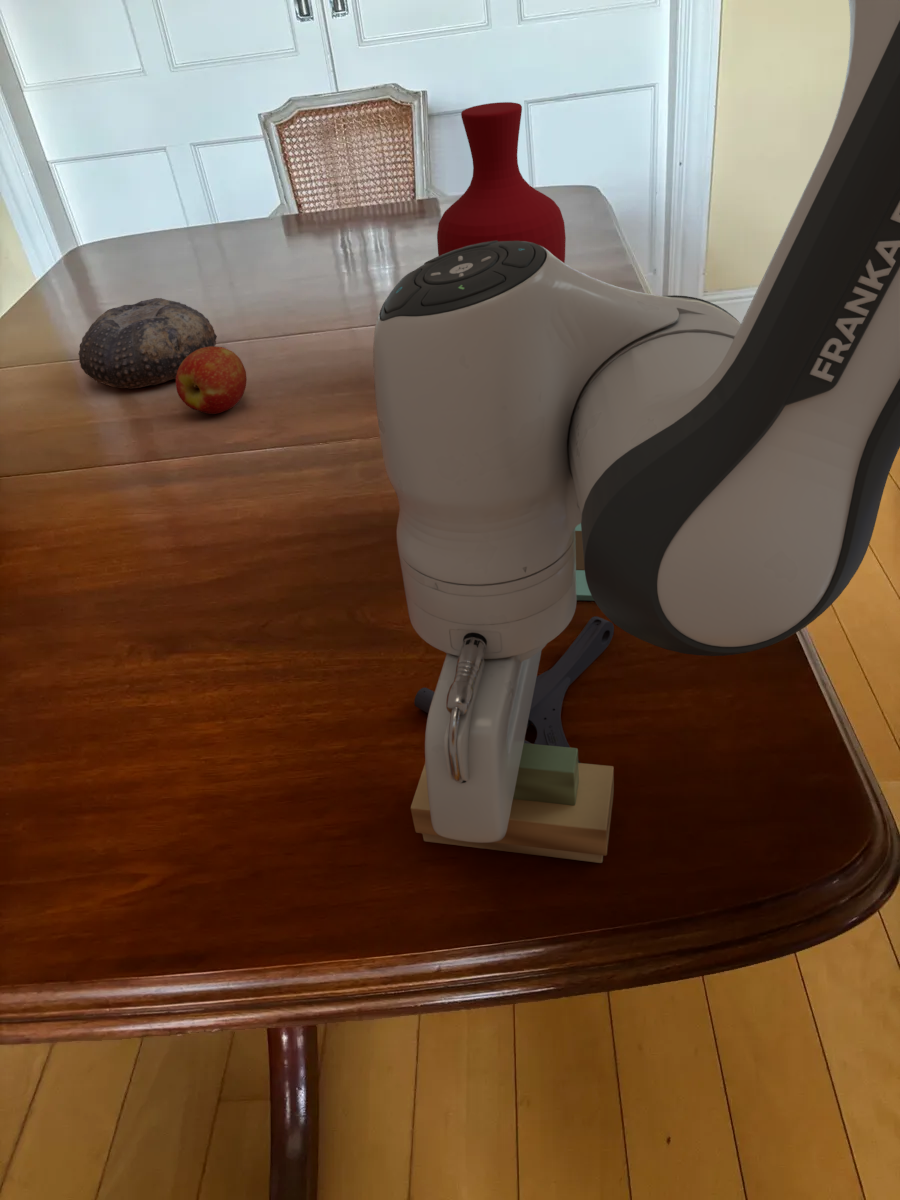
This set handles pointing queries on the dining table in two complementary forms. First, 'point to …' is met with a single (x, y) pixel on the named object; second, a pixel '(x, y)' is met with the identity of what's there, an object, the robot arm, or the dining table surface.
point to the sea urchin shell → (143, 342)
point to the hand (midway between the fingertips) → (506, 761)
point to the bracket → (554, 683)
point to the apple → (211, 380)
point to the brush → (545, 807)
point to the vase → (499, 190)
